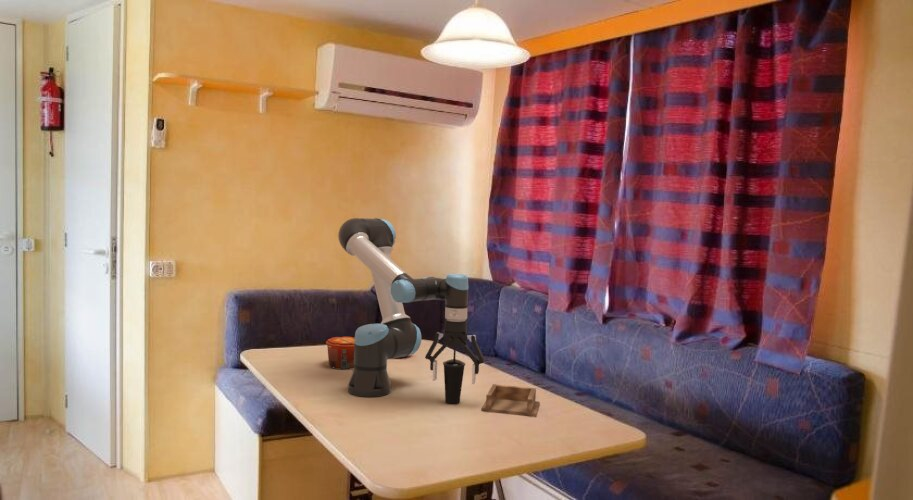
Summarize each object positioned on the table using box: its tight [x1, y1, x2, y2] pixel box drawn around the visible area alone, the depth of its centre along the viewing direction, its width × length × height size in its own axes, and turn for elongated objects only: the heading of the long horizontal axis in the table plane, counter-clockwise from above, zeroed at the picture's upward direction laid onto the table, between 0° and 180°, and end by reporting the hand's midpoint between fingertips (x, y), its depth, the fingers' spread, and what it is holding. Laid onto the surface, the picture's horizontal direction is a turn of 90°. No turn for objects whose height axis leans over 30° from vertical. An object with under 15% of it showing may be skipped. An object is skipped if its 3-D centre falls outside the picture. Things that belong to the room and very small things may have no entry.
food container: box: [325, 336, 355, 370], centre depth 267 cm, size 16×16×11 cm
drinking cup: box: [442, 347, 466, 405], centre depth 222 cm, size 8×8×20 cm
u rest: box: [480, 383, 541, 417], centre depth 219 cm, size 18×14×6 cm
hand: (454, 381), depth 222 cm, fingers open, 13 cm apart
